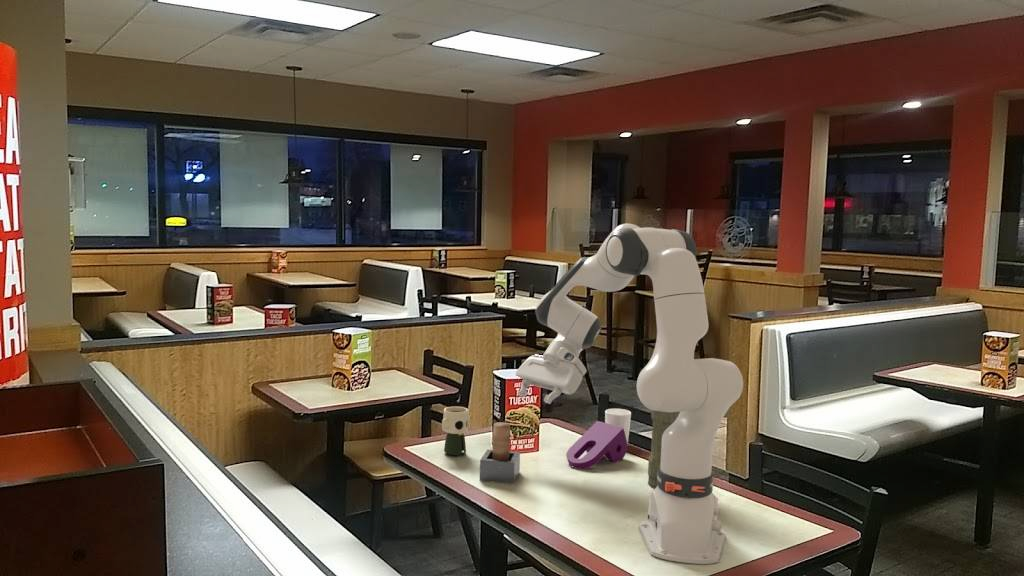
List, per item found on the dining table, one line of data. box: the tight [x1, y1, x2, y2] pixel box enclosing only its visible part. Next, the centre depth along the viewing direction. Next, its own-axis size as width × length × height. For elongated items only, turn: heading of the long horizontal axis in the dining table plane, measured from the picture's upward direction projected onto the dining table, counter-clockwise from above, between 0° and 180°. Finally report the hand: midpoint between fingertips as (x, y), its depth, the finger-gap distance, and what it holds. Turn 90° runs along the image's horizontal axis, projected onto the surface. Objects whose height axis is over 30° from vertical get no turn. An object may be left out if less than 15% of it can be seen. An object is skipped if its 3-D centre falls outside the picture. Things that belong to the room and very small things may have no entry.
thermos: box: [647, 410, 680, 490], centre depth 199 cm, size 9×12×35 cm
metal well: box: [479, 449, 521, 485], centre depth 203 cm, size 9×9×6 cm
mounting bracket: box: [566, 420, 628, 470], centre depth 219 cm, size 9×8×18 cm
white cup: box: [604, 408, 632, 445], centre depth 236 cm, size 8×8×10 cm
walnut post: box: [492, 421, 511, 461], centre depth 203 cm, size 4×4×14 cm
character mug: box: [441, 406, 470, 456], centre depth 220 cm, size 11×7×13 cm, turn 141°
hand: (533, 398), depth 210 cm, fingers open, 8 cm apart
